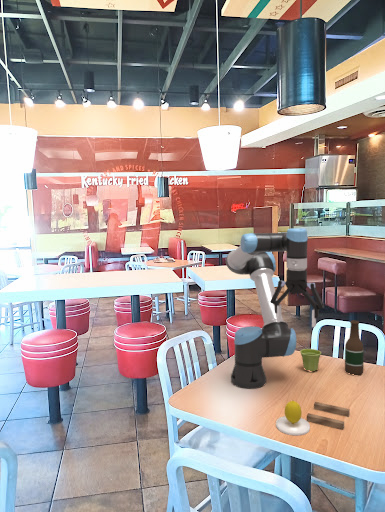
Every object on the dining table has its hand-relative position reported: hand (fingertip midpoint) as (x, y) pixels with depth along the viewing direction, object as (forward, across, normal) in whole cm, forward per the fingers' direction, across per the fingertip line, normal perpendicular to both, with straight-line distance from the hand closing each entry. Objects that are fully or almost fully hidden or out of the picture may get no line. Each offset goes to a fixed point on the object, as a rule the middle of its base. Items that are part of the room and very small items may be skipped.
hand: (296, 324), depth 150 cm
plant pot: (+30, -3, +32) cm, 44 cm away
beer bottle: (+30, +14, +39) cm, 51 cm away
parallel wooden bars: (+29, +15, -9) cm, 34 cm away
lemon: (+28, +6, -22) cm, 36 cm away
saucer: (+29, +6, -22) cm, 37 cm away
